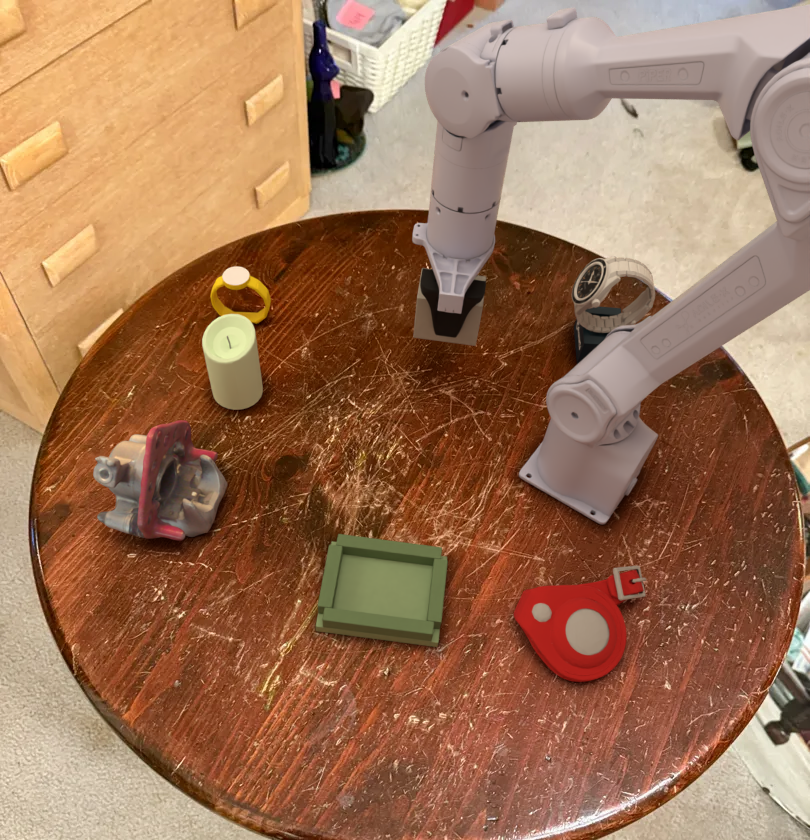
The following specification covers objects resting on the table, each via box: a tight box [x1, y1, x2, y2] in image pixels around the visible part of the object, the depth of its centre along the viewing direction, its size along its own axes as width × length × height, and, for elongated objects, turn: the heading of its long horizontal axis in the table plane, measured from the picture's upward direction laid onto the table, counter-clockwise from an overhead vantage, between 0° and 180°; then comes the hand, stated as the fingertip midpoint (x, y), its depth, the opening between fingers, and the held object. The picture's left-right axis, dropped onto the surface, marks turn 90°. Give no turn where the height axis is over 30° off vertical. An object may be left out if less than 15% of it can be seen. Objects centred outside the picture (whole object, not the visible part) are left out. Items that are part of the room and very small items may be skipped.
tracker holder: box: [513, 565, 647, 683], centre depth 70 cm, size 12×4×10 cm
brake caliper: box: [92, 419, 228, 542], centre depth 71 cm, size 11×11×12 cm
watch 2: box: [209, 266, 272, 325], centre depth 84 cm, size 6×3×6 cm, turn 86°
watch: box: [571, 256, 656, 365], centre depth 83 cm, size 6×8×11 cm
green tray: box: [315, 533, 449, 648], centre depth 70 cm, size 10×8×2 cm
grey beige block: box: [412, 267, 487, 347], centre depth 76 cm, size 6×4×5 cm, turn 83°
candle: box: [201, 314, 264, 411], centre depth 78 cm, size 5×5×8 cm
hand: (448, 316), depth 77 cm, fingers closed on grey beige block, 4 cm apart
